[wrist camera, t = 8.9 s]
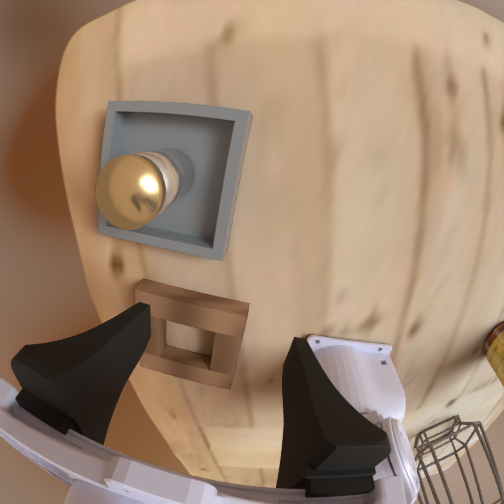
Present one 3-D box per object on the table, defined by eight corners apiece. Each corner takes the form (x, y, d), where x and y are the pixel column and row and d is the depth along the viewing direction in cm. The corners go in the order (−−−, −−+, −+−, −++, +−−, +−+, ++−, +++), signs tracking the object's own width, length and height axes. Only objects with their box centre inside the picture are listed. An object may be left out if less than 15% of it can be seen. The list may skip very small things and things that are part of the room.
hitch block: (249, 303, 24) (247, 316, 22) (232, 376, 28) (230, 389, 26) (143, 278, 24) (134, 289, 22) (146, 353, 28) (140, 365, 26)
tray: (252, 115, 18) (249, 111, 16) (227, 248, 22) (222, 261, 20) (124, 103, 18) (108, 101, 16) (113, 224, 22) (98, 233, 20)
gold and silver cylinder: (198, 151, 19) (162, 158, 12) (191, 203, 20) (157, 235, 14) (148, 146, 19) (96, 154, 12) (144, 196, 20) (95, 224, 14)
